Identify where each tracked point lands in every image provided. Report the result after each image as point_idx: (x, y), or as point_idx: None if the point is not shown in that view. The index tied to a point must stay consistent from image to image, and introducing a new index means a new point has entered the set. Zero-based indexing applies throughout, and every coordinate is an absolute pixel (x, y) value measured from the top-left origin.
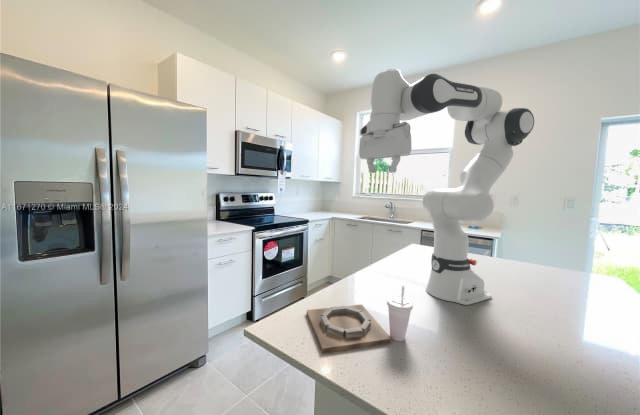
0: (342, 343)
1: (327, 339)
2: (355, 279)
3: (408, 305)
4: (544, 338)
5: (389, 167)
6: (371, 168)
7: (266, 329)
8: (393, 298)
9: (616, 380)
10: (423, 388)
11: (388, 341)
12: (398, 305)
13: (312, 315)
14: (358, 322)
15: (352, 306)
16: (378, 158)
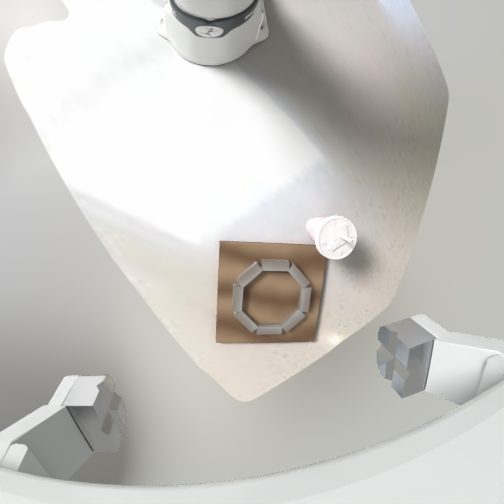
0: (313, 316)
1: (299, 331)
2: (86, 191)
3: (351, 231)
4: (370, 31)
5: (407, 387)
6: (120, 441)
7: (242, 391)
8: (325, 243)
9: (429, 58)
10: (390, 254)
11: None
12: (346, 248)
13: (235, 337)
14: (275, 275)
15: (222, 263)
16: (63, 482)
